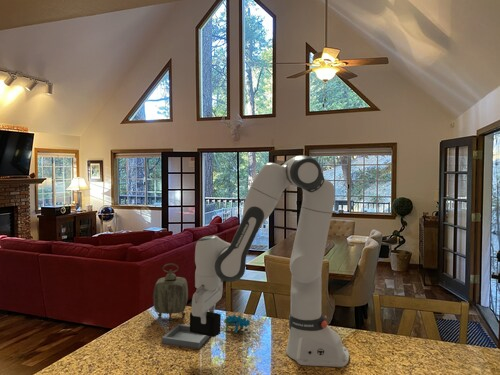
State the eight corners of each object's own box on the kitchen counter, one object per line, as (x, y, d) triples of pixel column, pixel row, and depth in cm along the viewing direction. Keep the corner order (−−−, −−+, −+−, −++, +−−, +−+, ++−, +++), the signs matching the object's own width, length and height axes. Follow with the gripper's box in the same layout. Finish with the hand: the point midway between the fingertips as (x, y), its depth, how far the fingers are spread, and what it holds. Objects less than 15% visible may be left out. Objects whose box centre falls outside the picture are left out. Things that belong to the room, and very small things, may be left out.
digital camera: (222, 332, 134) (223, 312, 134) (214, 337, 129) (214, 316, 129) (198, 327, 139) (198, 308, 139) (189, 331, 134) (190, 312, 134)
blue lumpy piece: (253, 324, 158) (245, 313, 152) (251, 338, 155) (242, 328, 148) (230, 323, 163) (220, 313, 156) (227, 337, 159) (217, 327, 152)
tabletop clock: (188, 314, 173) (187, 260, 172) (186, 322, 164) (185, 266, 163) (156, 315, 172) (155, 261, 171) (152, 323, 163) (151, 266, 162)
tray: (212, 334, 153) (212, 328, 153) (198, 349, 140) (198, 342, 140) (178, 329, 157) (178, 323, 157) (161, 343, 144) (161, 337, 144)
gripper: (204, 291, 123) (204, 332, 124) (225, 274, 143) (225, 310, 143) (186, 289, 125) (186, 330, 125) (210, 273, 144) (210, 308, 145)
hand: (207, 319), depth 135 cm, fingers closed on digital camera, 5 cm apart
